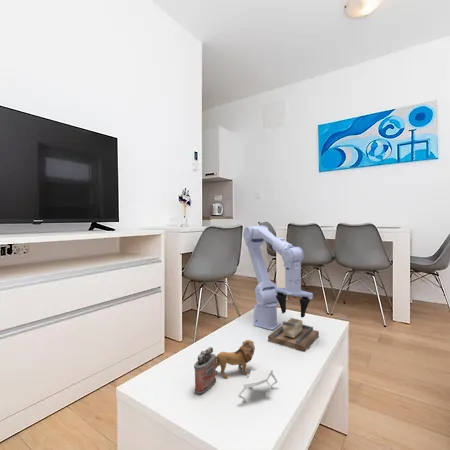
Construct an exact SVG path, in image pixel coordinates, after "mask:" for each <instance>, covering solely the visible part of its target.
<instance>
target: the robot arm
mask: <svg viewBox="0 0 450 450" xmlns="http://www.w3.org/2000/svg"><path fill="white" fill-rule="evenodd" d="M242 236H243V238H244V242H245V245H246V247H247V250H248V253H249V256H250V260H251V263H252V267H253V270H254V273H255V276H256V280H257V283H258V284H257V285H256V287H254V288H255V289H254V293H255V300H256V303H255V305H254V308H253V324H252V325H253V326H255V327H259V328H263V329H267V330H270V331H273V330H274V331H275V329H276V328H277V327H278V328H279V326H281V325H282V323H281V322H278V308H277V307H278V305H279V307H280V310H281V314H285V313H286V312H287V297H288V296H290V297H291V296H293V297H299V298H300V299H299V305H300V318H305V316H306V312H307V308H308V306H309V304H310V302H311V300H313V299H314V293H313V292H309V291H305V290H302V286H301V285H302V282H301V281H302V278H301V276H302V274H301V273H302V269H301V268H302V267H301V264H302V262H303V260H304V258H305V253H304V250H303V249H302V247H300V246H294V245H293V244H292V243H290V242H288V241H287V240H285V239H286V238H284V237H277V236H276V235H274V234H273V233H272V232H271V231H270V230H269V228H268V226H266V225H246V226H245V228H244V229H243V234H242ZM265 242H267V243H268V244H270V245H271V248H272V249H273V251H275V252H276V254H277V253H278V255H280V256H281V259H282V262H283V267H284V278H285V279H284V280H285V282H284V285H285V286H284V287H278V286H277V284H276V283H275V282H273V281H271V279H270V275H269V272H268V269H267V266H266V263H265V259H264V257H263V254H262V251H261V246H263V244H264V243H265Z"/></svg>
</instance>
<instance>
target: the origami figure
mask: <svg viewBox="0 0 450 450" xmlns="http://www.w3.org/2000/svg"><path fill="white" fill-rule="evenodd" d="M270 377H272V378H273V380H274V381H275V382H273V383H271V384H270V382H269V379H270ZM246 379H247V380H246V382H245V383H244V384H243V388H242V389H241V391H240V392H239V393H238V395H237V397H238V398H241V399H242V400H241V403H244V402H246V401H247V398H245V397H244V396H242V394H243V393H244V392H245V391H246V389H248V388H251V389H252V388H253V387H257V386H260V385H262V384H265V383H266V384H267V387H268V389H267V391H266V393H265V397H266V398H269V395H268V393H269V392H270V390H271V389H272V390H274V389H275V388H274V387H273V386H274V385H276V384H277V383H278V382H279V381H278V379H277V377H276V375H275V374H274V371H273V369H266V370H265V369H264V370H252V369H251V370H250V373H247V375H246Z"/></svg>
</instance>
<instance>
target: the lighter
mask: <svg viewBox="0 0 450 450" xmlns="http://www.w3.org/2000/svg"><path fill="white" fill-rule="evenodd" d="M213 352H214V348H213V347H212V346H209V347H208V348H206V349H205V350H201V351H200V353H199V354H198V355H197V361H196V362H195V363H194V365H193V368H194V394H195V395H196V394H197V395H196V396H202V394H203V395H204V394H206V393H207V392H208V391H210V390H211V389H212V388H213V387H214V386H215V384H216V383H217V378H216V374H215V371H216V370H215V359H216V356H217V355H216V354H214V353H213Z"/></svg>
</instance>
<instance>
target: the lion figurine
mask: <svg viewBox="0 0 450 450" xmlns="http://www.w3.org/2000/svg"><path fill="white" fill-rule="evenodd" d="M255 349H256V347H255V342H254V341H253V340H250V339H245V340H244V341H242V345H240V346H239V348H238V349H237V350H236V351H233V352H227V351H221V352H219V353H218V354H217V355H216V359H215V375H216V374H218V371H217V370H216V369H217V368H218V367H220V374H221V375H222V377H223V378H224V379H228V378H229V376H228V374H226V373H225V370H226V367H227V364H228V365H230V366H238V367H237V368H238V371H240V372H241V371H242V374H243V375H244V376H247V375H248V372H247V371H246V370H247V363H249V362H251V361H252V359H253V356H254V353H255Z"/></svg>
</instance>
